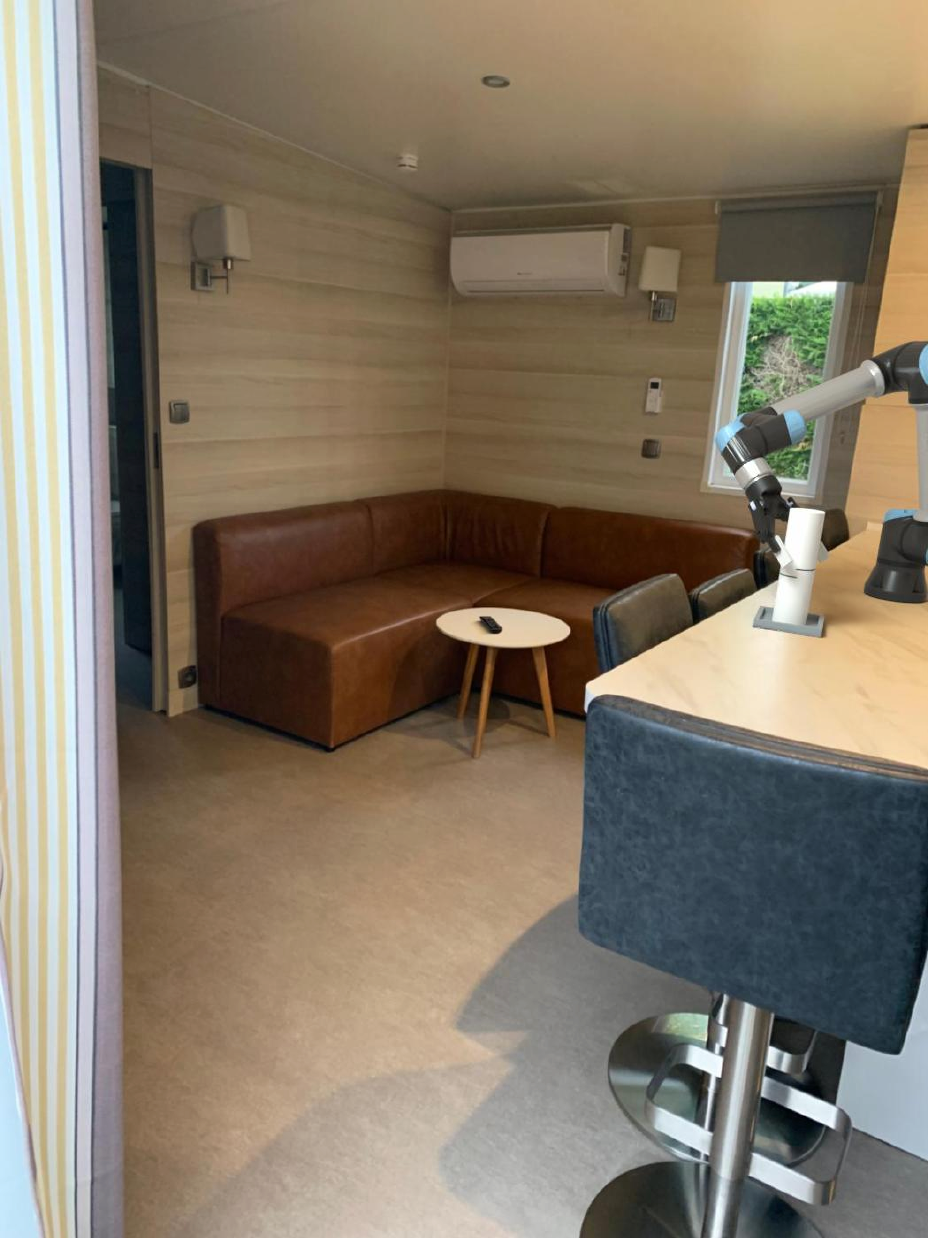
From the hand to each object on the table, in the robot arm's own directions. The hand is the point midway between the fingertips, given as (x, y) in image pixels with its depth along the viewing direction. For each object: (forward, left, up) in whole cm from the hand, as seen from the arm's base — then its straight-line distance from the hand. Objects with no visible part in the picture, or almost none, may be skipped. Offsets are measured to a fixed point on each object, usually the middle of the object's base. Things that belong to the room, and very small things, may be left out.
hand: (806, 562), depth 193 cm
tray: (+2, -1, -15) cm, 15 cm away
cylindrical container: (+2, -1, -14) cm, 14 cm away
